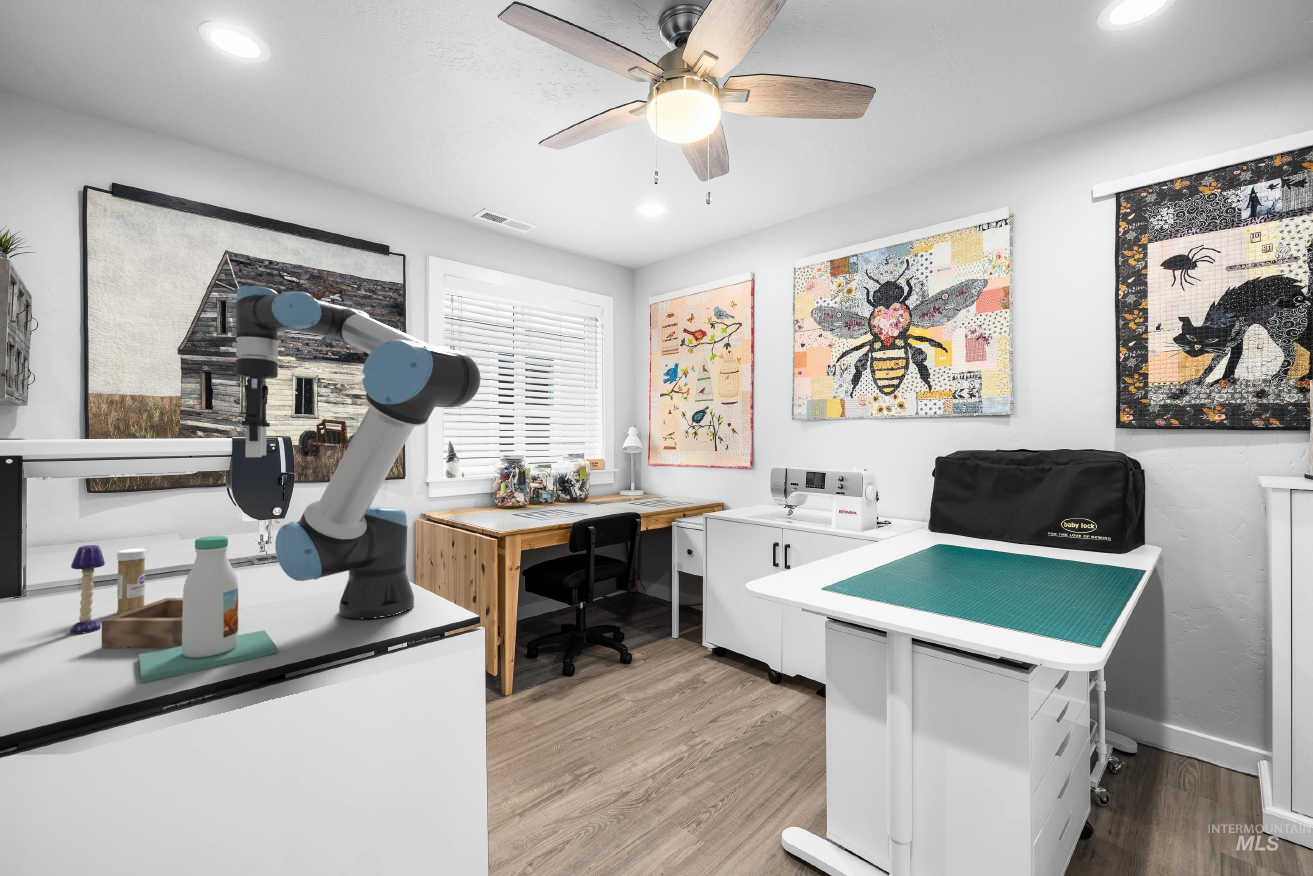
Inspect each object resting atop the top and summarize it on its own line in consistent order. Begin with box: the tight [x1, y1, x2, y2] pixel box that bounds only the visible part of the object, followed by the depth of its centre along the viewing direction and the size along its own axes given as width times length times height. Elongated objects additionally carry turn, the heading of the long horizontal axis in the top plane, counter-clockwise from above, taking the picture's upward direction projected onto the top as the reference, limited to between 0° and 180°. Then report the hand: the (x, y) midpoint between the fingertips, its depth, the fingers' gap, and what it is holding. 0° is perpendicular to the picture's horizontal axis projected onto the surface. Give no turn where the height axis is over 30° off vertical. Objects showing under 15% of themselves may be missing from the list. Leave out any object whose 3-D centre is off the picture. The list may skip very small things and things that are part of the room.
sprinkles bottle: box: [116, 548, 147, 615], centre depth 122 cm, size 5×5×13 cm
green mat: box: [138, 629, 279, 684], centre depth 98 cm, size 18×12×1 cm, turn 134°
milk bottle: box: [182, 535, 239, 658], centre depth 98 cm, size 8×8×20 cm
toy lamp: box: [69, 544, 105, 634], centre depth 110 cm, size 5×5×17 cm
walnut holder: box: [100, 597, 183, 649], centre depth 109 cm, size 14×14×5 cm
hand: (256, 456), depth 122 cm, fingers open, 13 cm apart
